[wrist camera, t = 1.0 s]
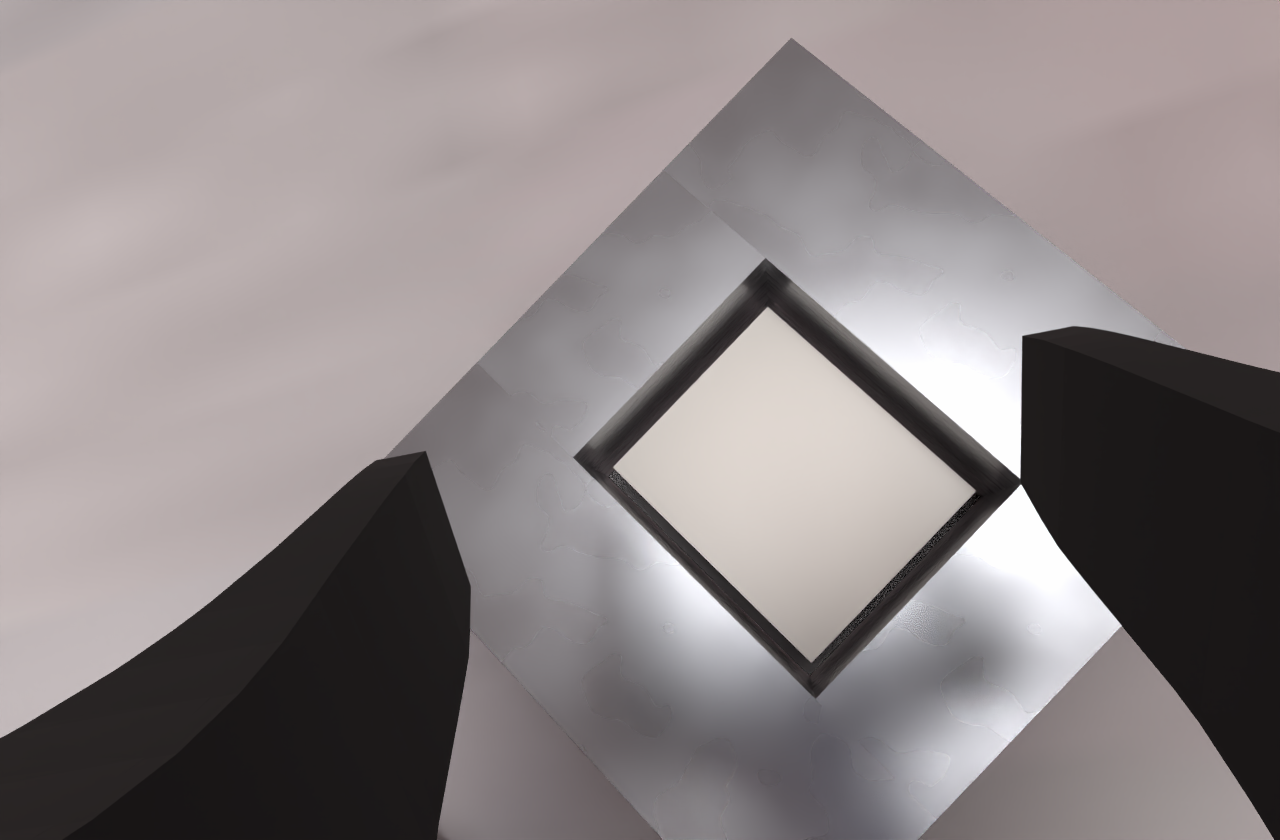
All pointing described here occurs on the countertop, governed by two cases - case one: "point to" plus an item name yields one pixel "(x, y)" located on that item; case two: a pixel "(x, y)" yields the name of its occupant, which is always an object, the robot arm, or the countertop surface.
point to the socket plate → (671, 581)
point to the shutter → (793, 483)
